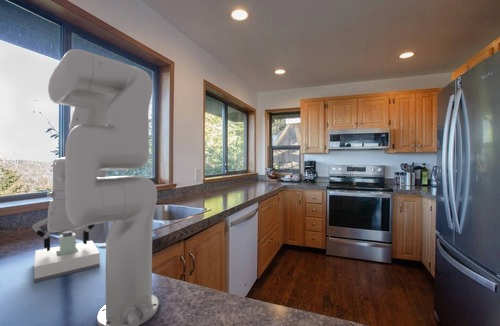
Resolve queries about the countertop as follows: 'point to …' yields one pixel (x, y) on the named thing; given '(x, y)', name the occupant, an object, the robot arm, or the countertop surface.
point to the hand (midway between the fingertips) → (67, 246)
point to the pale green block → (67, 243)
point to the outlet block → (65, 261)
